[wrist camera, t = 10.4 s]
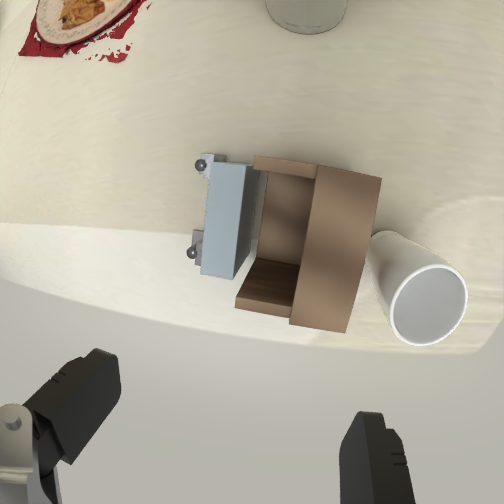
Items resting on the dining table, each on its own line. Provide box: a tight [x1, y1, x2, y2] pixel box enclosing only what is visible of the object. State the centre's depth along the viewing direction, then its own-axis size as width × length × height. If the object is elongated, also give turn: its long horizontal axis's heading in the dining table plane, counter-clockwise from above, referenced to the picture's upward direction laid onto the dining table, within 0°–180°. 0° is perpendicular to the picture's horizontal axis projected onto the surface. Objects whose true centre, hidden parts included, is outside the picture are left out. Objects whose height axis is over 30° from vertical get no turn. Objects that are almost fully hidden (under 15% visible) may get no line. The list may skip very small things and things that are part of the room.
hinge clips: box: [187, 153, 226, 266], centre depth 33 cm, size 11×3×5 cm, turn 172°
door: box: [200, 162, 260, 280], centre depth 31 cm, size 10×4×9 cm, turn 173°
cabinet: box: [235, 155, 382, 333], centre depth 28 cm, size 12×9×13 cm
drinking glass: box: [365, 230, 468, 346], centre depth 27 cm, size 7×7×15 cm
